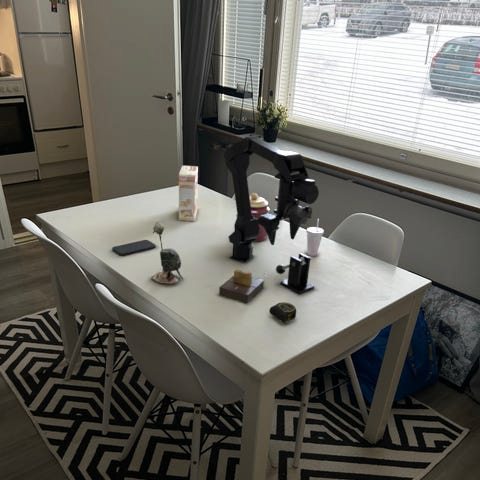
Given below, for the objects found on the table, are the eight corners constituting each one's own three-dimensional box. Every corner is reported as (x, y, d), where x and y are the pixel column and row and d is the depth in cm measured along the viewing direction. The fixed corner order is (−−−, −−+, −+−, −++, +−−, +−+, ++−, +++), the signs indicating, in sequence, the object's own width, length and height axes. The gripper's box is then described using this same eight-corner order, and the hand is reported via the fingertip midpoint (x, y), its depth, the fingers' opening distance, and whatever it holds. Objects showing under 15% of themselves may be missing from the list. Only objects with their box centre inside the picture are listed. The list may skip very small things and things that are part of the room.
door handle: (275, 276, 172) (272, 267, 172) (282, 273, 174) (279, 264, 174) (301, 266, 162) (297, 257, 162) (307, 264, 164) (304, 255, 164)
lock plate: (247, 303, 157) (248, 294, 155) (219, 295, 160) (219, 286, 159) (263, 288, 166) (264, 279, 165) (236, 280, 170) (236, 272, 168)
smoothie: (319, 258, 190) (325, 222, 182) (302, 256, 191) (307, 220, 183) (320, 251, 195) (326, 216, 188) (304, 249, 196) (308, 214, 189)
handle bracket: (279, 284, 169) (283, 254, 164) (294, 279, 173) (298, 249, 168) (299, 295, 164) (303, 264, 158) (314, 289, 168) (318, 259, 162)
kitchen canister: (230, 238, 202) (232, 194, 193) (242, 228, 212) (244, 186, 203) (260, 244, 198) (264, 200, 189) (271, 234, 208) (275, 191, 199)
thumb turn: (233, 282, 162) (234, 270, 160) (235, 280, 163) (236, 268, 161) (248, 286, 160) (249, 274, 158) (251, 284, 161) (251, 272, 159)
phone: (157, 245, 189) (121, 254, 181) (157, 247, 190) (121, 256, 181) (146, 239, 194) (110, 247, 185) (146, 241, 194) (111, 249, 186)
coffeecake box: (194, 221, 216) (195, 175, 206) (178, 220, 216) (177, 174, 206) (197, 209, 229) (198, 166, 219) (182, 208, 229) (181, 165, 219)
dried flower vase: (170, 290, 161) (169, 230, 151) (147, 278, 168) (145, 220, 157) (189, 282, 167) (189, 224, 156) (166, 271, 173) (165, 214, 163)
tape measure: (267, 315, 151) (268, 304, 149) (285, 310, 155) (286, 299, 153) (281, 326, 146) (283, 315, 144) (300, 320, 150) (301, 309, 148)
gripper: (284, 207, 149) (279, 256, 157) (326, 197, 160) (319, 243, 168) (258, 197, 156) (255, 244, 164) (300, 188, 167) (295, 233, 175)
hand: (282, 241), depth 167 cm, fingers open, 9 cm apart
